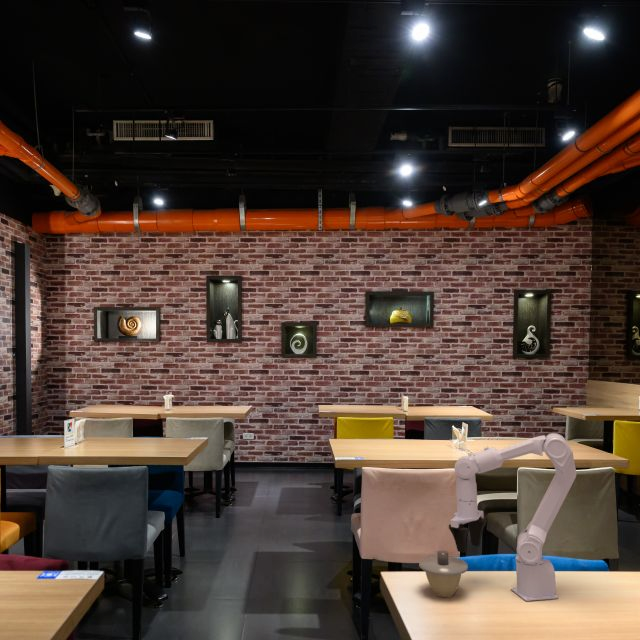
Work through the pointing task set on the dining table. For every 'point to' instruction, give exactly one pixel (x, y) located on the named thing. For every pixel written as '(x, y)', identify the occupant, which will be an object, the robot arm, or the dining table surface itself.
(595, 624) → the dining table surface
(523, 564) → the robot arm
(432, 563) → the lid
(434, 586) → the flower pot
